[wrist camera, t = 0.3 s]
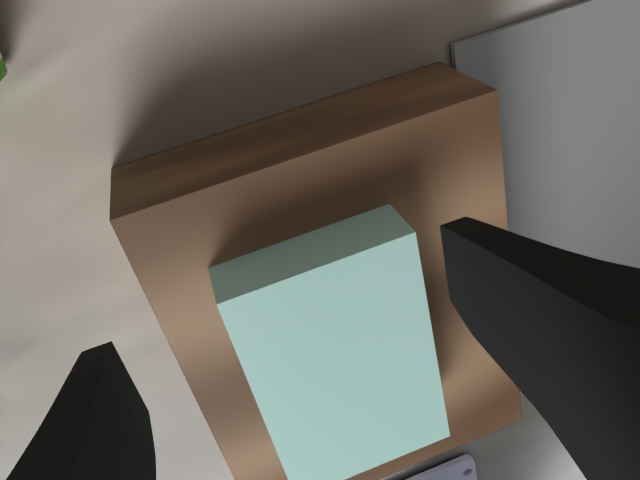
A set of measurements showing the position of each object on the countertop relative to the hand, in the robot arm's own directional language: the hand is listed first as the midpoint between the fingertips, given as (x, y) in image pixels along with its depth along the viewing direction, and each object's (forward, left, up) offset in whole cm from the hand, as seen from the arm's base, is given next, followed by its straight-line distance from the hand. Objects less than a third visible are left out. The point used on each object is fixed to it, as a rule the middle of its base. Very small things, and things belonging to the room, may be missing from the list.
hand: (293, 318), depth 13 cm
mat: (-7, -13, -10) cm, 18 cm away
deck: (-7, -2, -10) cm, 12 cm away
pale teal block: (-6, -1, -6) cm, 9 cm away
